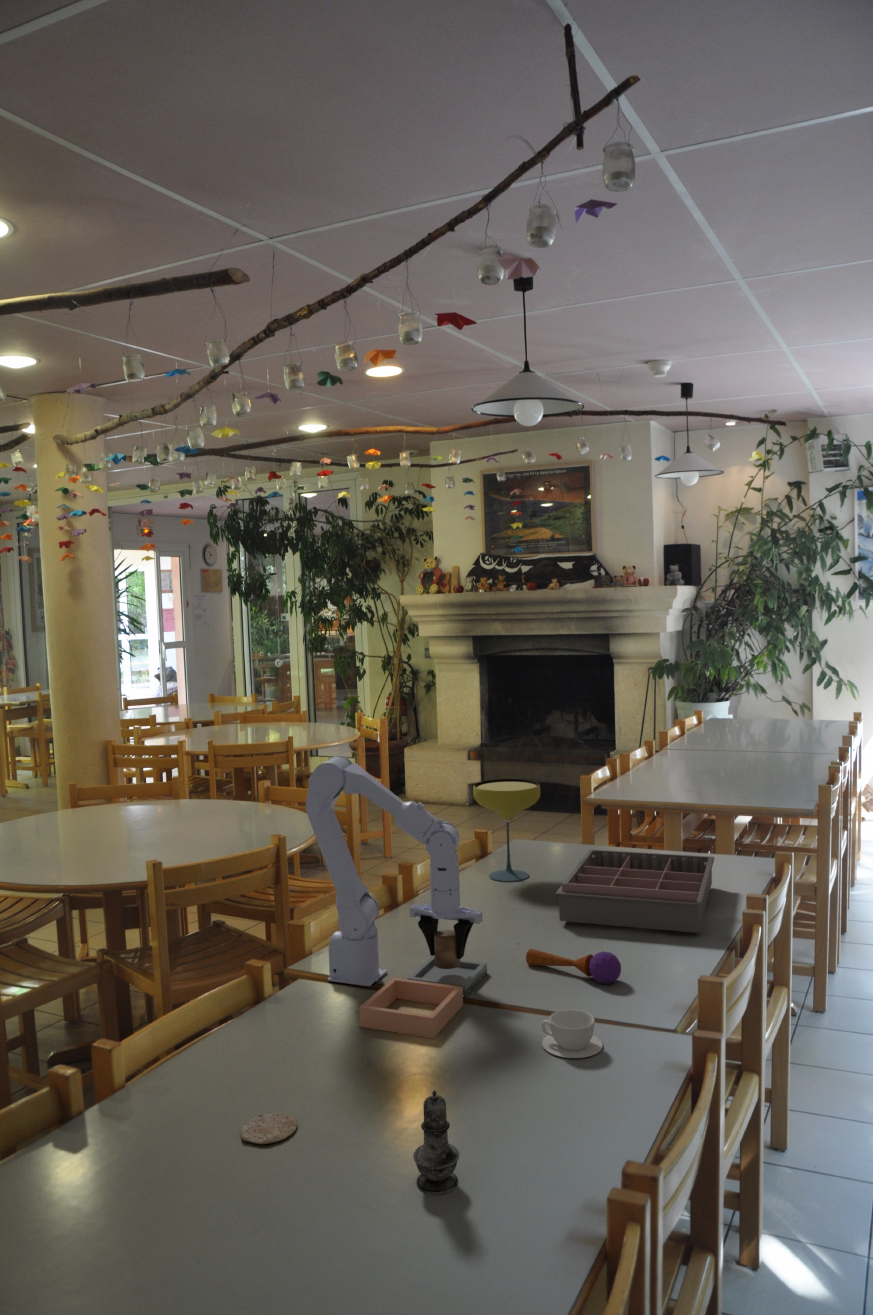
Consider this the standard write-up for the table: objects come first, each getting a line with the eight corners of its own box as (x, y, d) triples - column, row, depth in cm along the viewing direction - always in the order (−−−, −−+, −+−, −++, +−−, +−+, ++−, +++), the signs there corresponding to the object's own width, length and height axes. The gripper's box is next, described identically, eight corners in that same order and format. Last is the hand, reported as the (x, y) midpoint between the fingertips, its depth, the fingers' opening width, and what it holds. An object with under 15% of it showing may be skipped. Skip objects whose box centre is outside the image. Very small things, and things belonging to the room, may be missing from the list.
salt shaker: (412, 1170, 123) (409, 1080, 122) (457, 1167, 123) (454, 1077, 123) (415, 1198, 117) (412, 1104, 116) (462, 1194, 117) (459, 1100, 117)
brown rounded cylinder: (430, 967, 184) (429, 937, 183) (440, 958, 188) (439, 928, 188) (454, 970, 182) (453, 939, 181) (464, 961, 186) (463, 931, 186)
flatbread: (272, 1112, 139) (272, 1105, 139) (308, 1128, 134) (308, 1121, 134) (228, 1136, 132) (228, 1129, 132) (264, 1154, 128) (264, 1147, 128)
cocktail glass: (461, 877, 256) (459, 785, 255) (507, 863, 269) (504, 776, 267) (511, 890, 243) (508, 794, 242) (556, 875, 255) (554, 783, 254)
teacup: (607, 1037, 159) (606, 1010, 159) (597, 1064, 150) (596, 1036, 150) (549, 1030, 163) (548, 1003, 162) (535, 1056, 153) (534, 1028, 153)
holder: (359, 1027, 166) (359, 1007, 166) (393, 996, 179) (393, 977, 178) (433, 1038, 160) (432, 1018, 160) (462, 1005, 173) (462, 987, 173)
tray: (407, 988, 182) (407, 978, 182) (431, 966, 193) (431, 956, 193) (465, 996, 177) (465, 986, 177) (486, 973, 188) (486, 963, 188)
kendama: (538, 940, 195) (626, 952, 183) (538, 970, 194) (626, 984, 182) (522, 943, 191) (611, 955, 178) (522, 974, 190) (611, 988, 178)
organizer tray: (715, 887, 241) (714, 849, 240) (702, 941, 203) (701, 895, 203) (590, 879, 252) (589, 842, 251) (555, 927, 214) (554, 884, 214)
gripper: (402, 890, 183) (405, 958, 184) (472, 896, 178) (474, 967, 178) (417, 879, 190) (419, 946, 191) (485, 885, 184) (487, 954, 185)
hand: (447, 955), depth 185 cm, fingers closed on brown rounded cylinder, 5 cm apart
